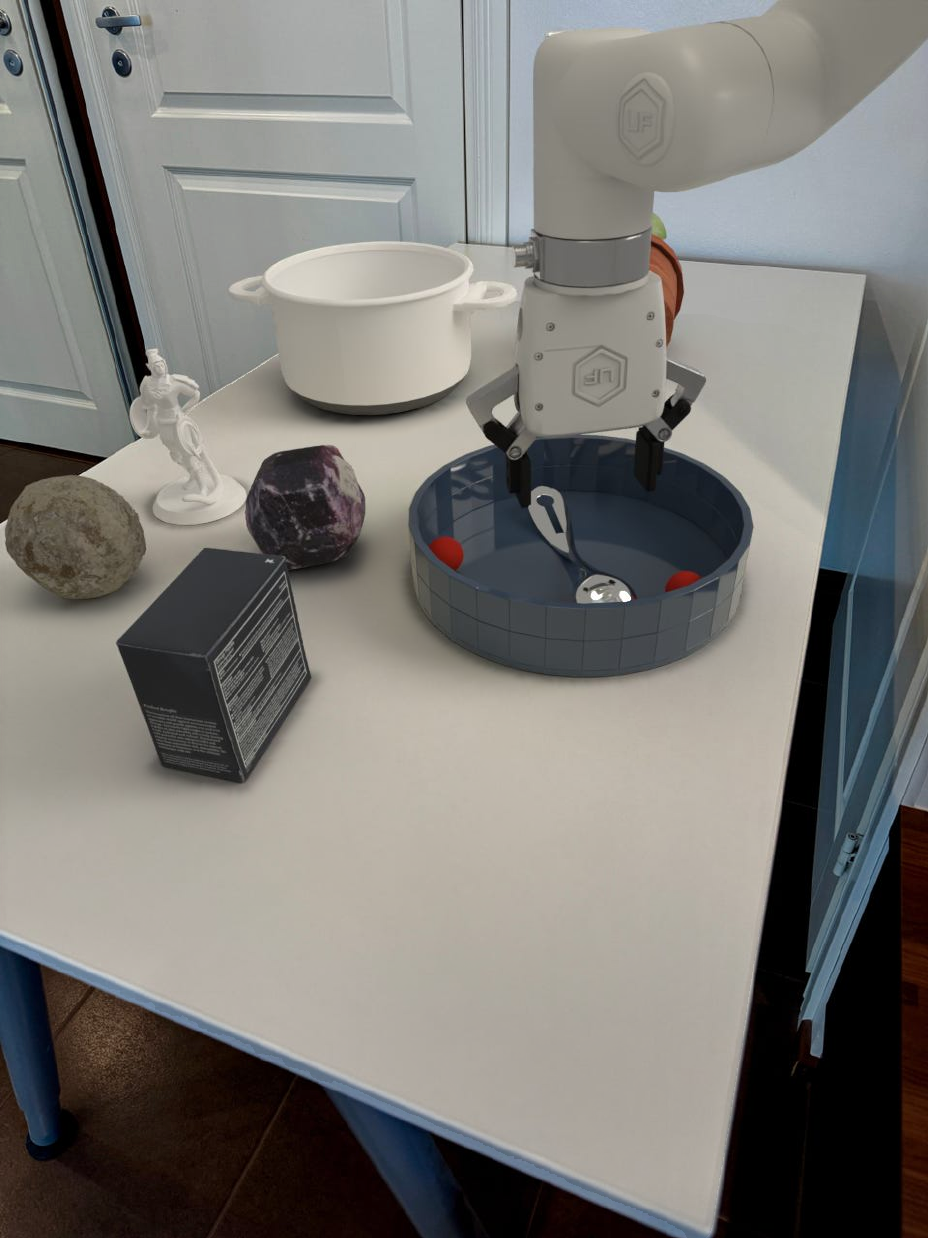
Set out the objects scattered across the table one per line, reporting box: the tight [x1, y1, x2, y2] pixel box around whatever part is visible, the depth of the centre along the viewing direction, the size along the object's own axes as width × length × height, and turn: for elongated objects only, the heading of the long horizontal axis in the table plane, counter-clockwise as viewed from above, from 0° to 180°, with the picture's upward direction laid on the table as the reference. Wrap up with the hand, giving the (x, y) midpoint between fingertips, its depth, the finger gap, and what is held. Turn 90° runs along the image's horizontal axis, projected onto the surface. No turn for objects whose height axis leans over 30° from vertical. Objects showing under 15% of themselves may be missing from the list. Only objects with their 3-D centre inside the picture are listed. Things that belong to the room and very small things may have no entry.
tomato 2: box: [665, 571, 702, 593], centre depth 66 cm, size 3×3×3 cm
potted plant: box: [649, 212, 685, 349], centre depth 112 cm, size 16×15×35 cm
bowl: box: [407, 434, 754, 678], centre depth 70 cm, size 26×26×6 cm
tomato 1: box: [429, 537, 464, 571], centre depth 71 cm, size 3×3×3 cm
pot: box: [228, 240, 518, 416], centre depth 100 cm, size 33×23×14 cm
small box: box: [115, 547, 312, 783], centre depth 56 cm, size 11×6×10 cm, turn 164°
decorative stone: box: [4, 474, 147, 600], centre depth 70 cm, size 10×8×10 cm
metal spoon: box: [528, 486, 637, 604], centre depth 71 cm, size 20×4×5 cm
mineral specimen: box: [244, 444, 366, 571], centre depth 73 cm, size 10×10×10 cm
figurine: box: [129, 347, 248, 526], centre depth 79 cm, size 9×9×15 cm
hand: (583, 491), depth 67 cm, fingers open, 9 cm apart
